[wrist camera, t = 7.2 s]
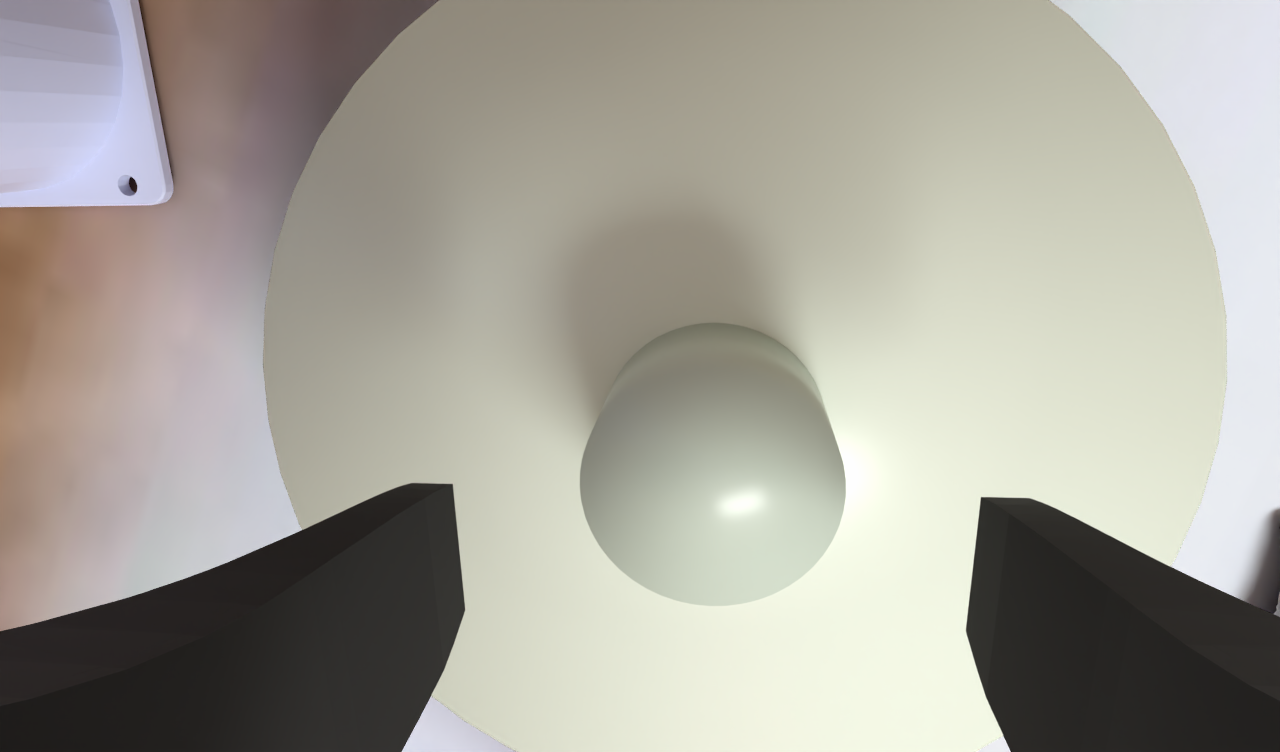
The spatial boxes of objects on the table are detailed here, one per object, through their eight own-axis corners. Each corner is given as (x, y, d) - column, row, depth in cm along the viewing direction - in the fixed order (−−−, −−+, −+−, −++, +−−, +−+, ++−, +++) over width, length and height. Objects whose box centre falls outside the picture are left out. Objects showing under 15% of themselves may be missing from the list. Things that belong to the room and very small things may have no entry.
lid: (342, 750, 19) (265, 876, 16) (217, -68, 14) (64, -125, 10) (1115, 804, 17) (1203, 959, 14) (1301, -116, 12) (1508, -201, 9)
